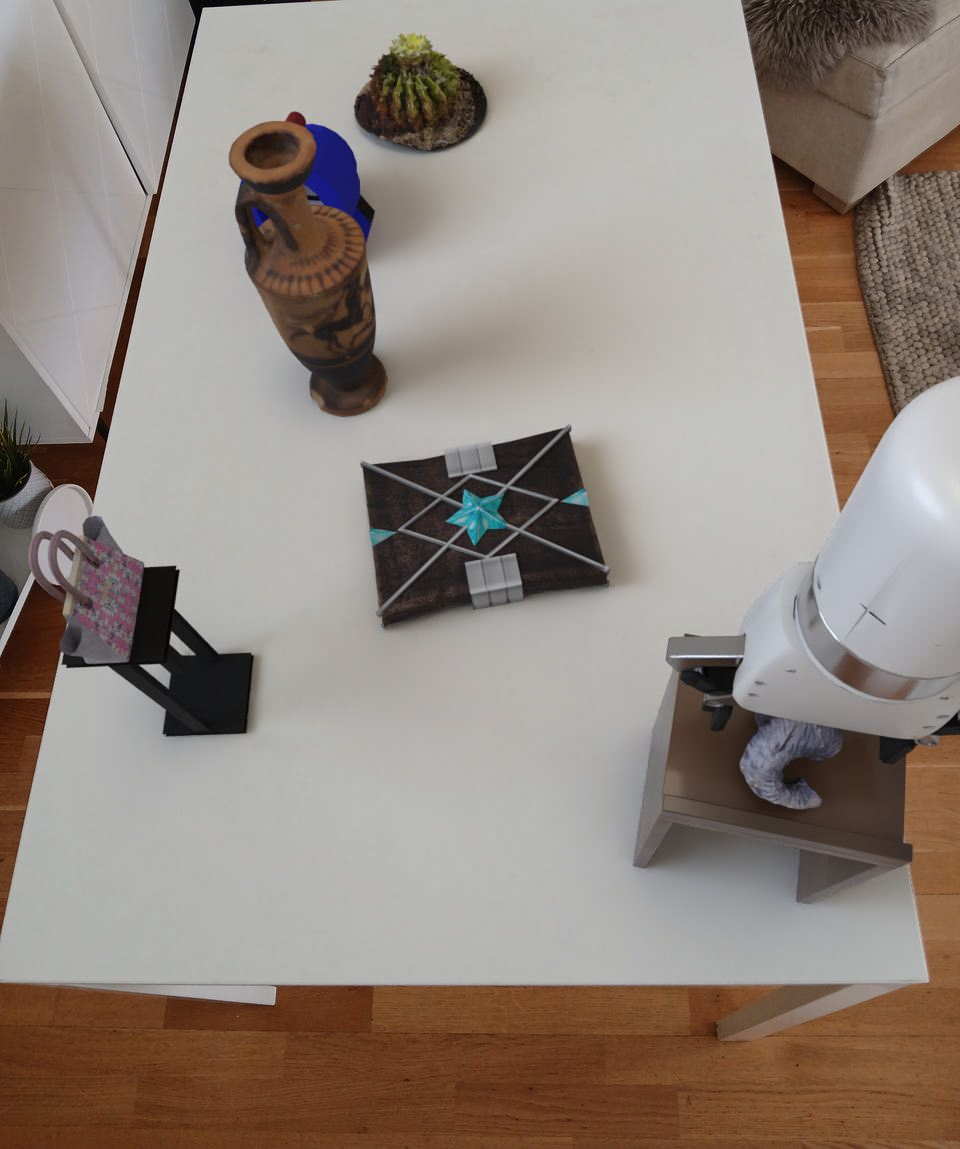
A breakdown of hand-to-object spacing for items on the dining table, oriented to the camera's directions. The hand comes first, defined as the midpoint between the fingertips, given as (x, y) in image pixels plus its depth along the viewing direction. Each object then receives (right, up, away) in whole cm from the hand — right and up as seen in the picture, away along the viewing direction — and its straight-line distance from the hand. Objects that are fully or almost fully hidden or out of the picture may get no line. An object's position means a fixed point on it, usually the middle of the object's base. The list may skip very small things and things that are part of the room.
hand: (800, 722), depth 54 cm
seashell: (0, -1, +2) cm, 3 cm away
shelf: (+2, -11, +22) cm, 25 cm away
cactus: (-26, +68, +62) cm, 96 cm away
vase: (-33, +29, +44) cm, 62 cm away
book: (-19, +13, +35) cm, 42 cm away
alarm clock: (-38, +49, +54) cm, 83 cm away
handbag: (-44, -2, +30) cm, 53 cm away
